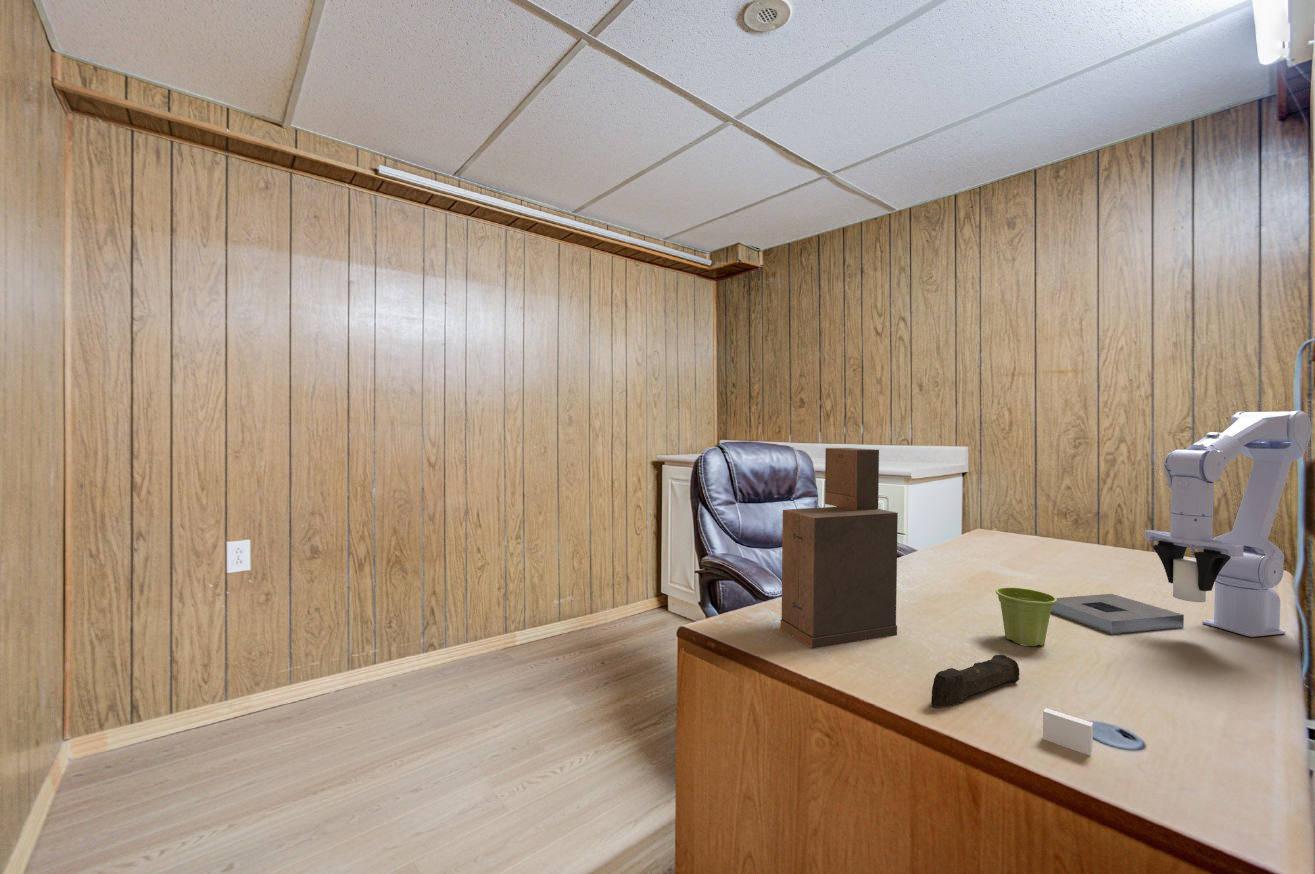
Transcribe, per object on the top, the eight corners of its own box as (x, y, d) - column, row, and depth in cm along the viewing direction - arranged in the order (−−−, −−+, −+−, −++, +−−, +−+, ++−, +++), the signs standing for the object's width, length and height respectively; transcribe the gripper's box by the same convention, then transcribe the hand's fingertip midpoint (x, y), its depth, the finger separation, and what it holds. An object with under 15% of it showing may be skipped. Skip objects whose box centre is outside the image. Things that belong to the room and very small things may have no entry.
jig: (1111, 604, 123) (1111, 593, 123) (1183, 627, 109) (1183, 614, 109) (1045, 610, 119) (1045, 598, 119) (1111, 634, 105) (1111, 621, 105)
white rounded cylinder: (1184, 594, 106) (1185, 557, 105) (1211, 601, 101) (1212, 563, 101) (1166, 595, 105) (1167, 559, 104) (1193, 603, 100) (1194, 564, 100)
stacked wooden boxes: (847, 611, 118) (849, 447, 117) (897, 635, 104) (899, 450, 104) (769, 621, 111) (771, 448, 110) (812, 648, 98) (814, 451, 97)
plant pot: (994, 627, 108) (995, 584, 108) (1053, 637, 104) (1054, 591, 103) (995, 643, 100) (995, 596, 100) (1058, 655, 96) (1059, 605, 95)
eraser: (1090, 756, 66) (1091, 726, 66) (1042, 739, 70) (1042, 711, 70) (1092, 752, 67) (1093, 722, 67) (1044, 736, 71) (1045, 707, 71)
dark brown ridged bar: (994, 675, 88) (994, 646, 88) (1020, 685, 85) (1020, 655, 85) (914, 701, 80) (915, 669, 80) (940, 714, 76) (940, 680, 76)
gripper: (1133, 508, 109) (1131, 577, 109) (1223, 521, 95) (1220, 599, 95) (1160, 507, 110) (1159, 575, 111) (1253, 520, 96) (1250, 597, 97)
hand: (1189, 586), depth 103 cm, fingers closed on white rounded cylinder, 4 cm apart
